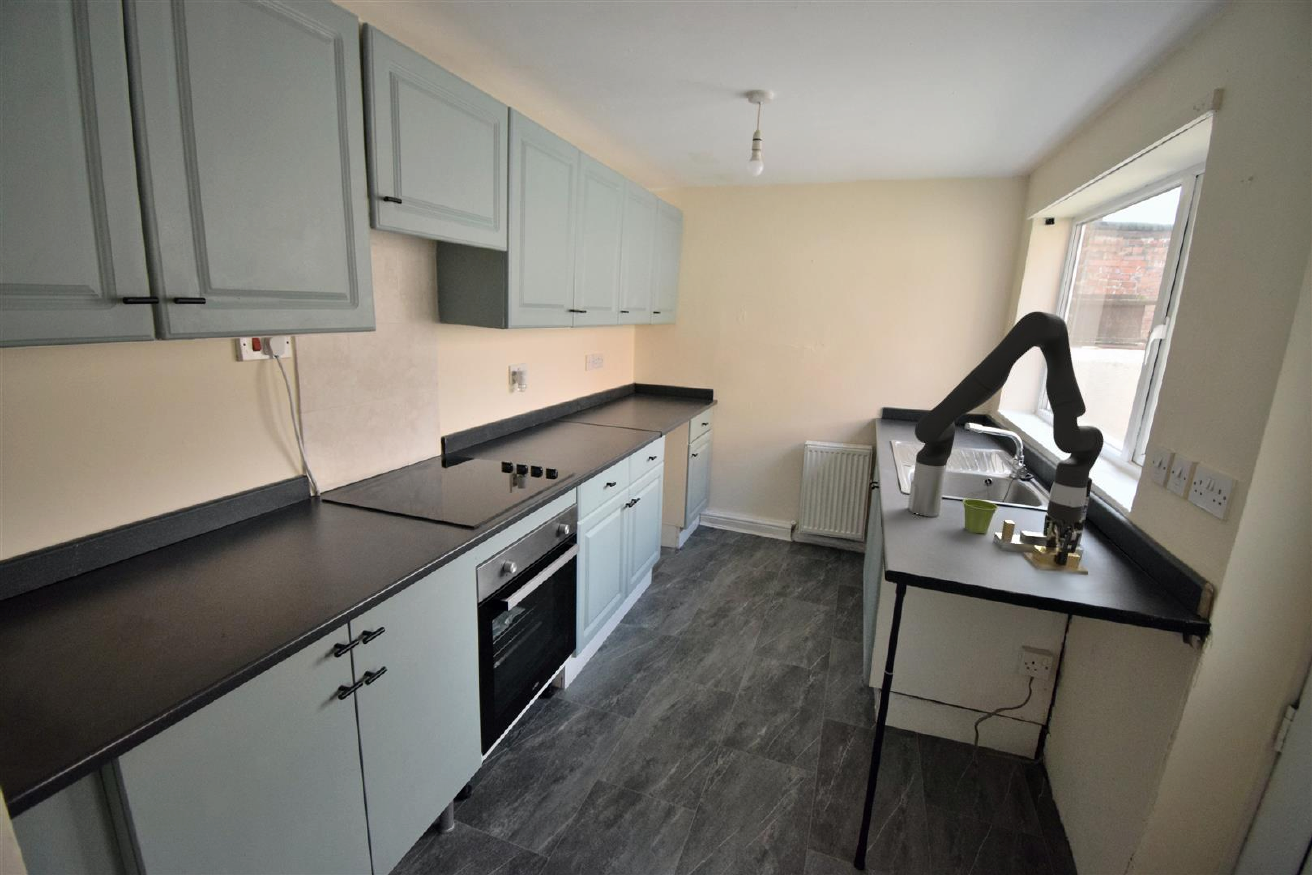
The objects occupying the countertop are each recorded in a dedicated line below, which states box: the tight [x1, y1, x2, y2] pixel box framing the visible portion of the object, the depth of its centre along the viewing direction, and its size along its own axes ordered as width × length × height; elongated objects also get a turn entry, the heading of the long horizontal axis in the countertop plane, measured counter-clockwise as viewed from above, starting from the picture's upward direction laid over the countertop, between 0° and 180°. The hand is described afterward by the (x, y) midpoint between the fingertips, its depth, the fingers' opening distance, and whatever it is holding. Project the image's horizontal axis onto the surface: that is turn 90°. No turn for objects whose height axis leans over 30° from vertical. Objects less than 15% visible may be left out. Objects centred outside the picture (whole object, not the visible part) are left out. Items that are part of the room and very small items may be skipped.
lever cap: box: [1032, 546, 1081, 568], centre depth 151 cm, size 9×5×4 cm, turn 78°
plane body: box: [992, 519, 1084, 559], centre depth 160 cm, size 20×7×8 cm, turn 78°
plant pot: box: [962, 498, 999, 535], centre depth 173 cm, size 9×9×9 cm
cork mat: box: [1022, 552, 1089, 575], centre depth 151 cm, size 12×9×1 cm
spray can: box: [1060, 477, 1093, 546], centre depth 165 cm, size 7×7×20 cm
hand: (1054, 559), depth 151 cm, fingers open, 6 cm apart
